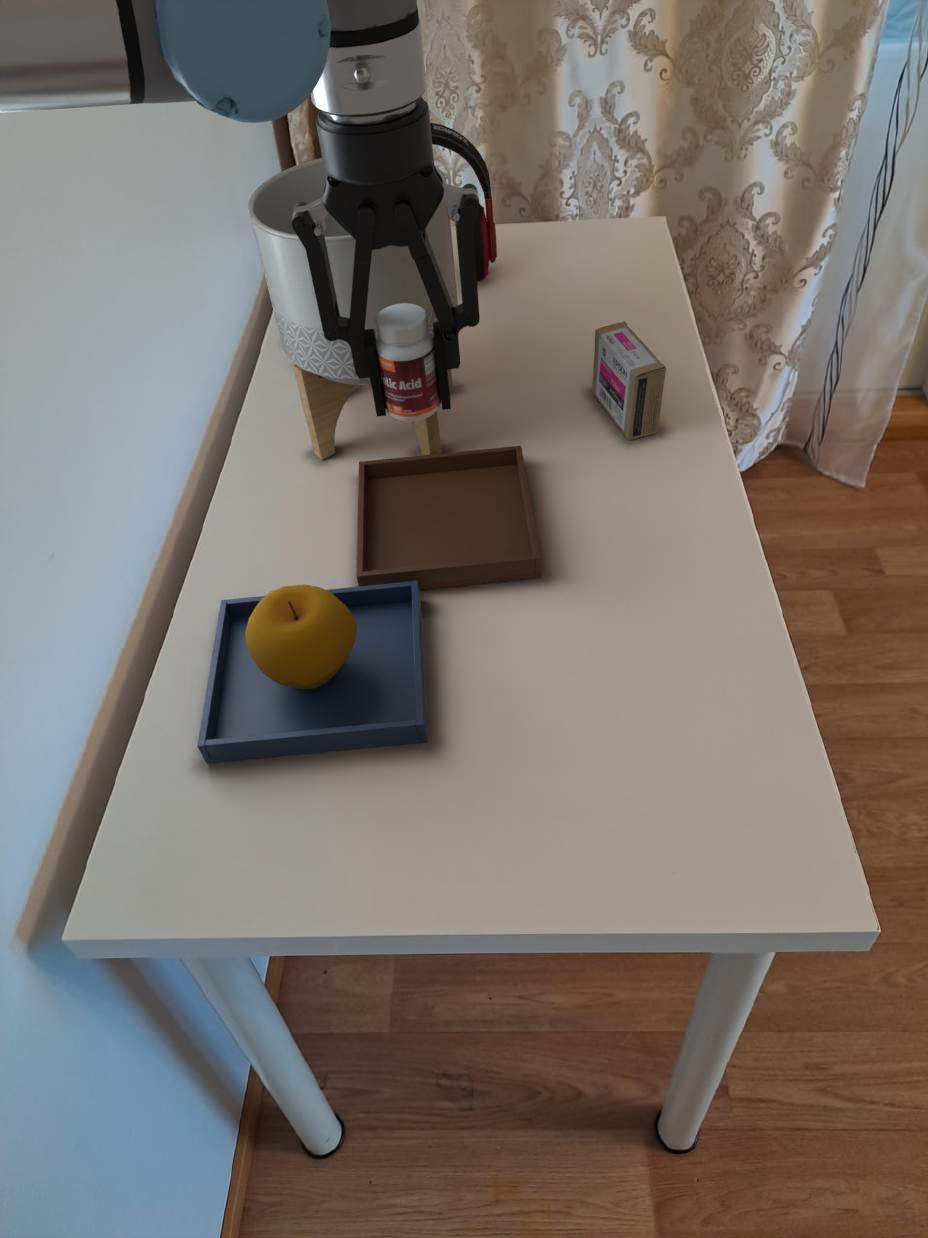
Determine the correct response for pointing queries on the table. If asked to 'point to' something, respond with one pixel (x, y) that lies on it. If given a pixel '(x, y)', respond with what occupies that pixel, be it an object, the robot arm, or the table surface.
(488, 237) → the headphones
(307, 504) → the table surface
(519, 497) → the medicine tray
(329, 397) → the planter
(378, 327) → the pill bottle
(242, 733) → the fruit tray
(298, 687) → the apple
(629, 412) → the ink box
